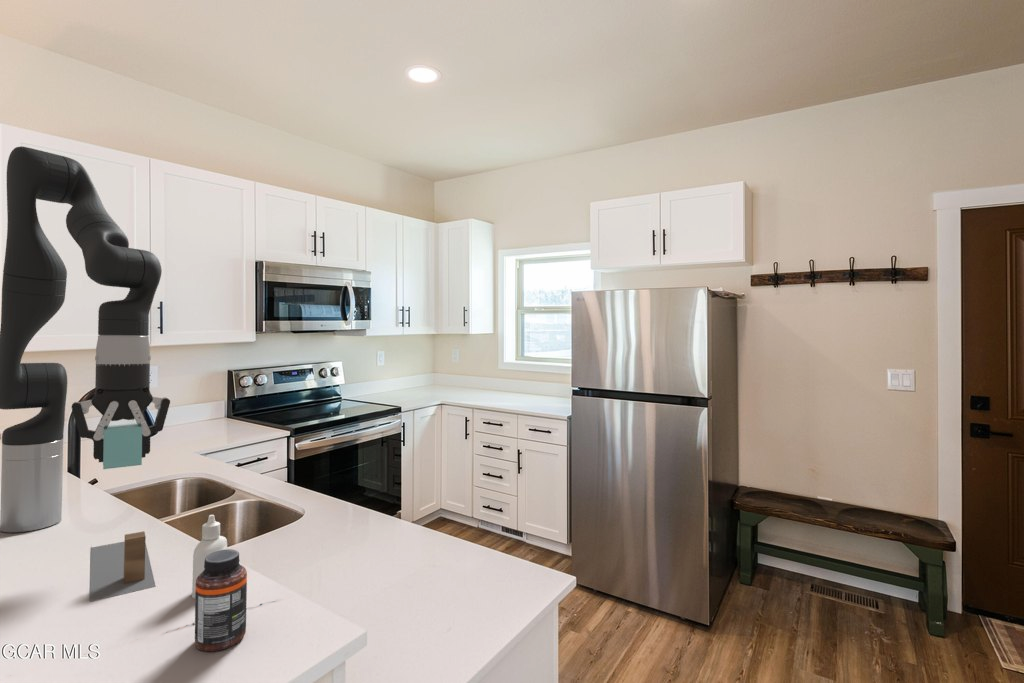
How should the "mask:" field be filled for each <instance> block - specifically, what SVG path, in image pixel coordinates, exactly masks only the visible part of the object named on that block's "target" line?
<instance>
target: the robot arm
mask: <svg viewBox="0 0 1024 683" xmlns="http://www.w3.org/2000/svg"><path fill="white" fill-rule="evenodd" d="M37 200H41V201H46V202H52V203H57V204H69V205H70V206H71V207H70V209H69V210H68V212H67V214H66V218H65V224H66V229H67V231H68V233H69V235H70V236H71V237H72V239H73V240H74V241H75V243H76V245H78V247H79V248H80V249H81V253H82V255H83V260H84V269H85V273H86V275H87V277H88V278H89V279H91V280H92V281H93V282H95V283H96V284H97V285H102V286H105V287H113V288H125V289H129V291H128V293H127V294H126V296H125V297H124V298H123V299H119V300H117V299H116V300H109V301H105V302H103V303H101V304H100V305H99V307H98V320H97V323H98V324H97V329H98V330H97V341H96V348H95V360H94V361H95V386H94V387H95V388H94V389H95V390H94V395H93V396H92V398H91V399H88V400H84V401H74V402H73V403H72V405H71V410H72V411H71V412H72V414H73V417H74V421H75V424H76V428H77V432H78V434H79V437H80V438H81V439H90V440H92V442H93V453H92V454H93V455H92V456H93V459H94V460H98V463H103V444H104V440H103V435H104V429H107V427H108V425H110V423H111V422H117V421H121V420H127V421H133V420H135V422H136V423H137V424H138V426H142V459H143V458H146V455H149V454H150V452H151V436H152V435H153V434H155V433H158V432H162V431H163V428H164V426H165V423H166V422H165V421H166V419H167V415H168V411H169V408H170V405H171V400H170V399H169V398H168V397H165V396H164V397H157V396H153V395H152V393H151V390H150V383H151V382H150V381H151V377H150V375H151V372H150V371H151V359H152V358H151V356H152V355H151V347H150V340H149V338H150V337H149V335H150V334H149V328H150V327H149V324H150V323H149V322H150V321H149V318H150V312H151V307H152V304H153V301H154V299H155V298H154V297H155V295H156V292H157V289H158V286H159V284H160V282H161V281H160V280H161V277H162V274H163V273H162V271H163V270H162V266H161V262H160V260H159V258H158V257H157V256H156V254H154V253H153V252H151V251H149V250H145V249H138V248H133V247H132V248H131V247H129V245H130V244H129V243H130V242H129V238H128V236H127V235H126V233H125V232H124V230H122V228H121V227H120V226H119V225H118V223H117V222H116V221H115V220H114V219H113V218H112V217H111V215H110V214H109V213H108V212H107V210H106V208H105V207H104V204H103V203H102V200H101V198H100V196H99V194H98V191H97V189H96V187H95V185H94V183H93V181H92V179H91V177H90V175H89V173H88V171H87V169H85V167H84V165H83V164H81V163H80V162H79V161H77V160H76V159H74V158H71V157H68V156H64V155H60V154H56V153H52V152H48V151H44V150H41V149H40V150H39V149H35V148H31V147H27V146H16V147H14V148H13V149H12V150H11V152H10V154H9V156H8V160H7V164H6V212H7V214H6V215H7V223H6V224H7V226H6V227H7V231H6V243H5V244H6V245H5V253H4V254H5V255H4V262H3V269H2V282H1V311H0V312H1V313H0V314H1V315H0V410H5V411H6V410H7V411H8V410H21V409H22V410H23V409H24V410H25V409H35V408H36V409H37V408H39V409H40V408H41V409H40V411H39V413H37V414H35V415H34V416H33V417H31V418H29V419H28V420H25V421H22V422H20V423H17V424H14V425H11V426H9V427H7V428H5V429H4V430H3V431H2V435H1V471H0V472H1V474H0V475H1V477H0V478H1V479H0V531H1V532H4V533H23V532H24V533H25V532H31V531H36V530H41V529H44V528H49V527H50V526H53V525H57V524H58V523H59V522H61V521H62V515H63V514H62V512H63V479H64V478H63V476H64V475H63V474H64V473H63V472H64V467H63V466H64V431H65V421H66V419H65V418H66V417H65V416H66V401H67V393H68V374H67V370H66V368H65V366H64V365H63V364H61V363H59V362H21V361H22V359H23V356H24V353H25V351H26V348H27V347H28V346H29V344H30V342H31V340H32V339H33V338H34V336H36V334H37V333H38V332H40V330H41V329H42V328H43V327H44V326H45V325H46V324H47V323H48V322H50V320H51V319H52V318H54V316H55V315H56V314H57V313H58V312H59V311H60V309H61V307H62V306H63V304H64V303H65V300H66V299H65V298H66V290H67V279H68V278H67V276H68V271H67V268H66V265H65V263H64V260H62V258H61V256H60V254H59V253H58V252H57V250H56V249H55V248H54V245H53V244H52V243H51V242H50V240H49V238H48V237H47V235H46V234H45V232H44V230H43V228H42V226H41V224H40V221H39V217H38V216H39V215H38V213H37ZM151 403H152V404H154V408H155V410H157V412H156V416H155V418H154V419H155V420H154V423H153V424H152V425H150V426H148V424H147V421H146V420H145V417H144V414H143V413H144V412H145V411H146V409H148V407H149V406H150V405H151ZM90 407H94V408H95V409H96V410H97V411H98V412H99V413H100V414H101V415H102V416H101V418H100V420H99V422H98V424H97V427H96V429H95V430H92V429H89V427H88V424H87V420H86V417H85V415H86V414H88V413H89V412H90Z"/></svg>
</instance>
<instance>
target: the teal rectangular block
mask: <svg viewBox="0 0 1024 683" xmlns="http://www.w3.org/2000/svg"><path fill="white" fill-rule="evenodd" d="M103 440H104V444H103V462H102V470H110V469H119V468H126V467H127V468H128V467H135V466H142V465H143V464H142V463H143V462H142V461H143V458H142V426H138V424H137V422H136V423H126V424H125V423H124V424H122V423H121V424H109V425H108V427H107V429H104V435H103Z"/></svg>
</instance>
